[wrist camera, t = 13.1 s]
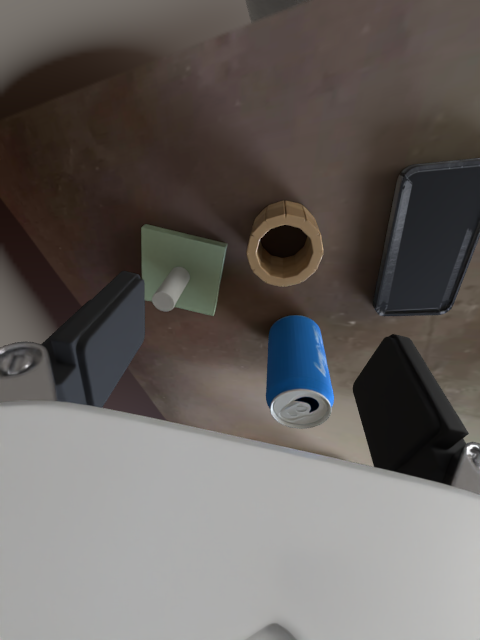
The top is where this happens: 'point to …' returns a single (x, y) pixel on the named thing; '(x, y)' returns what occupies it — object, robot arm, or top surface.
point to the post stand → (181, 269)
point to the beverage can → (298, 374)
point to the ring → (292, 266)
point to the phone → (429, 238)
